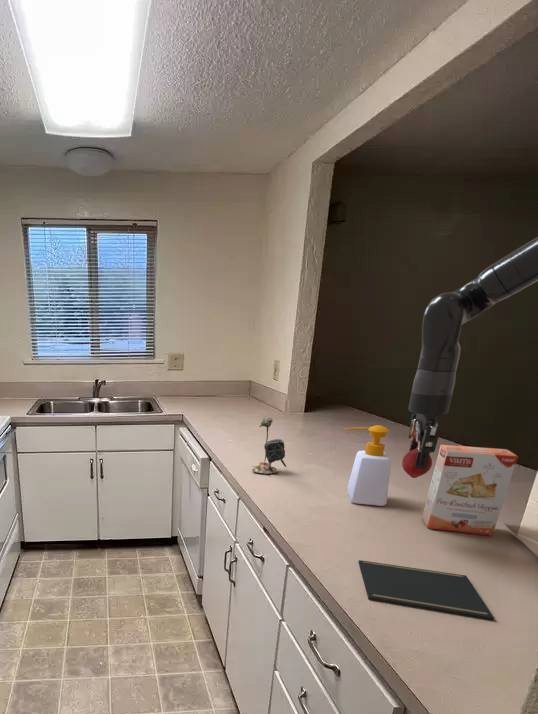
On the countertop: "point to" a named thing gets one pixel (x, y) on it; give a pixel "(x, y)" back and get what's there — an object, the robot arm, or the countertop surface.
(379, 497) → the soap bottle
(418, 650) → the countertop surface
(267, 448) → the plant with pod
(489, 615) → the placemat
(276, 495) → the countertop surface
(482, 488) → the cracker box
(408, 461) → the onion
